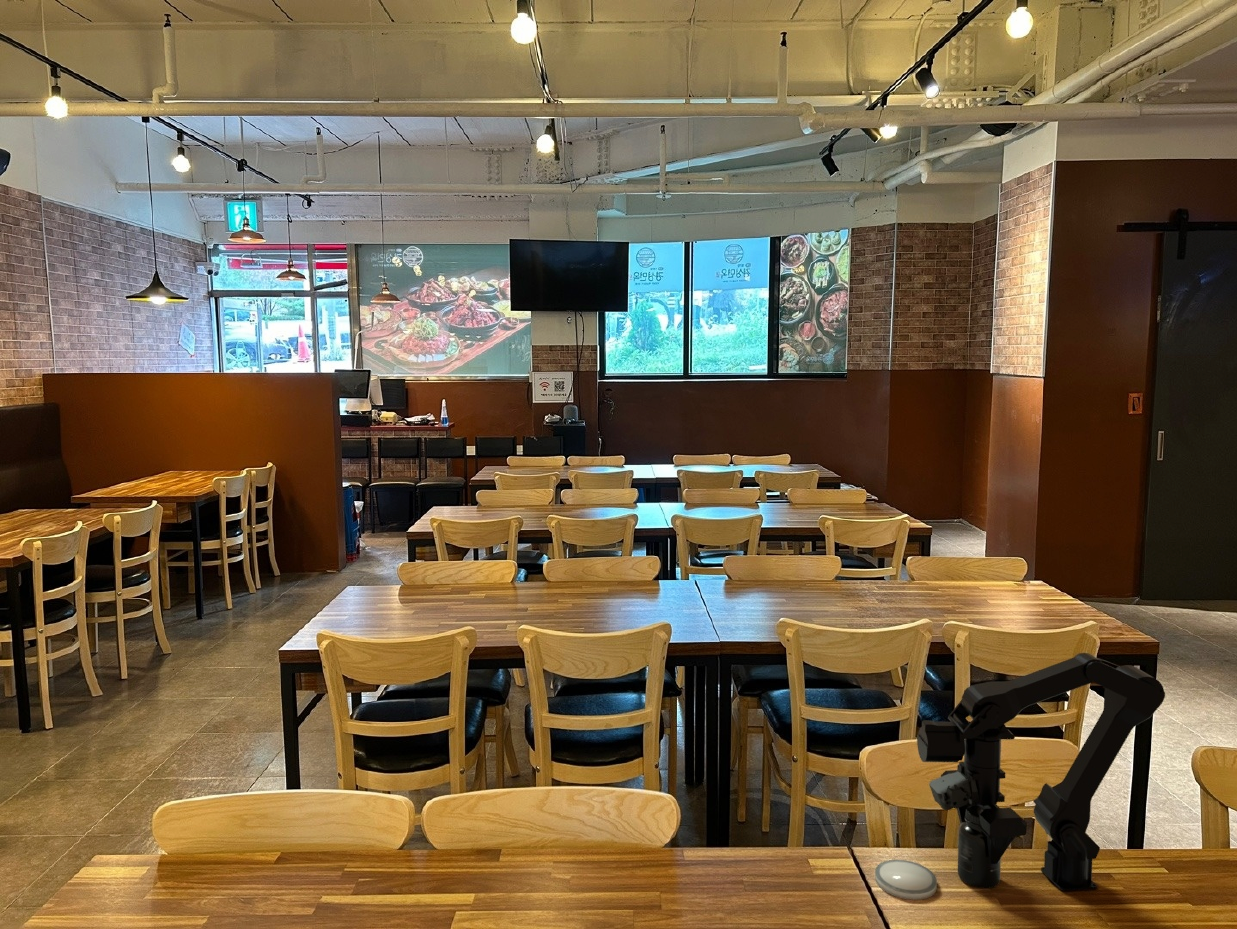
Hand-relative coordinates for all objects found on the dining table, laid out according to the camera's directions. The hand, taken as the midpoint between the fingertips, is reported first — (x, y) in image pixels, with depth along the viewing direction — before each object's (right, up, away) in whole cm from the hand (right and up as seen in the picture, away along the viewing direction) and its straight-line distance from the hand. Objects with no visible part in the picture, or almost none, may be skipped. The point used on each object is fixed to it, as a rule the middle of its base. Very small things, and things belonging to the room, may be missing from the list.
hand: (979, 849), depth 147 cm
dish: (-13, -6, -1) cm, 14 cm away
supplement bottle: (0, -6, +1) cm, 6 cm away
